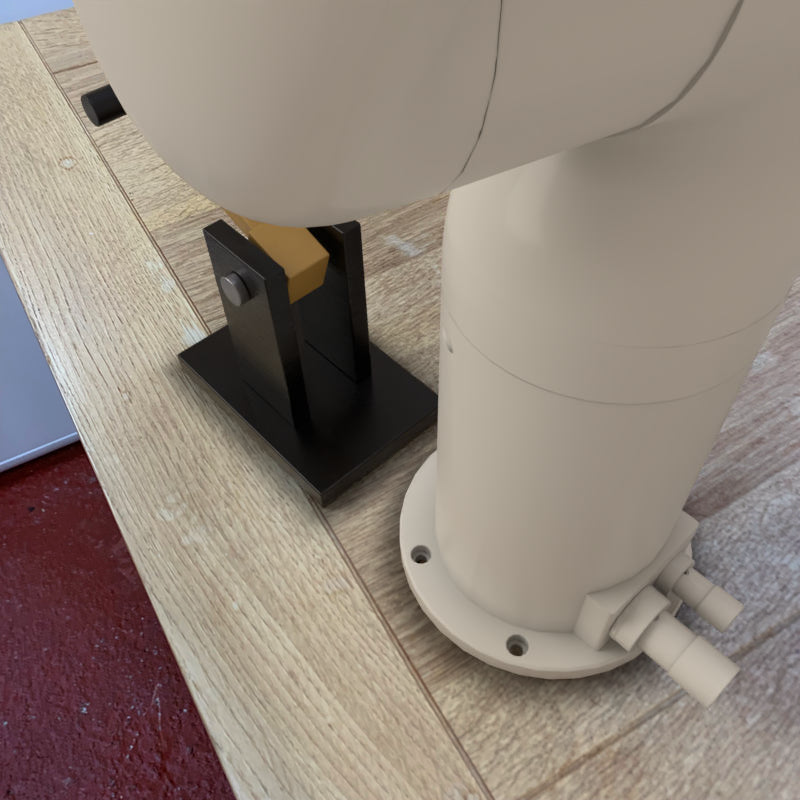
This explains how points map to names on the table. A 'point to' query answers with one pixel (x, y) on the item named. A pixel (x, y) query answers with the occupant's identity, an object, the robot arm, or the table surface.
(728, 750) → the table surface
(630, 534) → the robot arm
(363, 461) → the bracket
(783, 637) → the table surface
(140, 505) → the table surface
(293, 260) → the lever
